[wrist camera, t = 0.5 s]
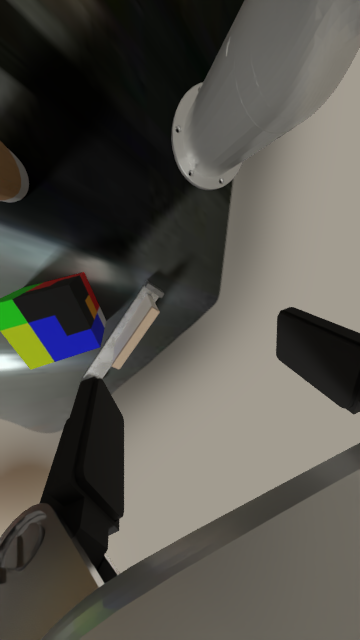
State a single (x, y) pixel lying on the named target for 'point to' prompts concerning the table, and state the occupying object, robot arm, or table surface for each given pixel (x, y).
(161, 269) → the table surface
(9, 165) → the coffee cup
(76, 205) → the table surface
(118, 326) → the rail
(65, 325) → the puzzle toy
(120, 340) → the screen
